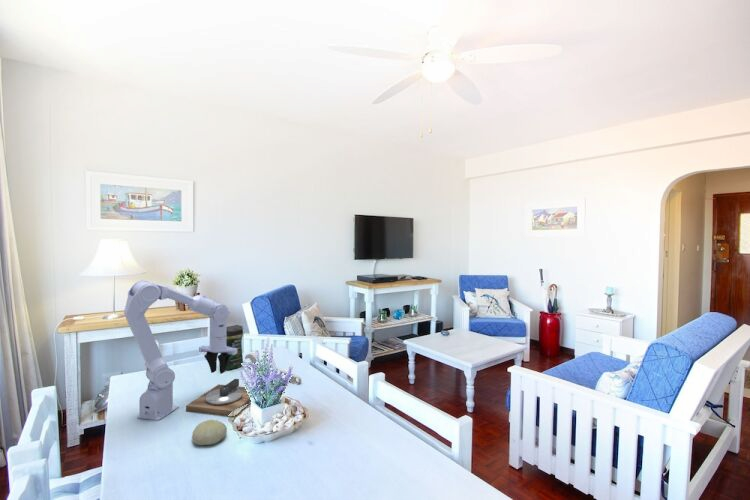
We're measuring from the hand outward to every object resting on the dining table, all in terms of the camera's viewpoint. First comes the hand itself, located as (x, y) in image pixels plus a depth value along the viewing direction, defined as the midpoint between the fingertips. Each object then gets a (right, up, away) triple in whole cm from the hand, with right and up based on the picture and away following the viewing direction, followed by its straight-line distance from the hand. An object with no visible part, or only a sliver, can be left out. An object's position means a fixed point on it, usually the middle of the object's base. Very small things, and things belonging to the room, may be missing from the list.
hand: (218, 372), depth 135 cm
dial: (+5, -6, -6) cm, 10 cm away
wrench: (+15, -9, +18) cm, 25 cm away
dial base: (+5, -9, -7) cm, 12 cm away
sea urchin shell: (+10, -10, -29) cm, 32 cm away
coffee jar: (-6, -8, +29) cm, 31 cm away
